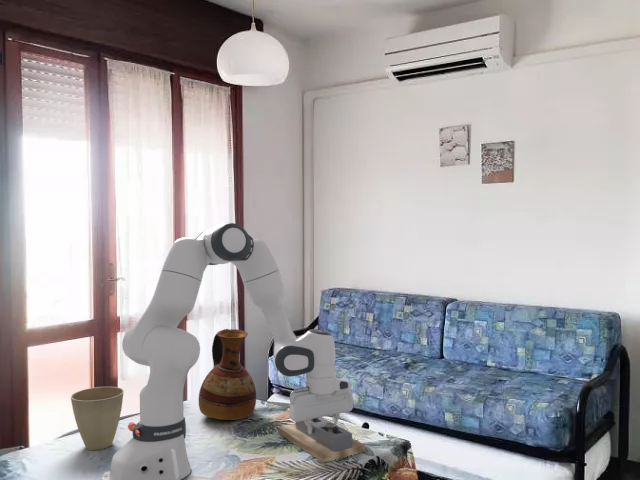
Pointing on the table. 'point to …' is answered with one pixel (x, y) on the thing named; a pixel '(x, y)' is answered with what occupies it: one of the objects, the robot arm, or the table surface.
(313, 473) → the table surface
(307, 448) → the board
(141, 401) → the robot arm
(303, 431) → the block
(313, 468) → the table surface
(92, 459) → the table surface
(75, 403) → the plant pot
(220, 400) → the ceramic pitcher
